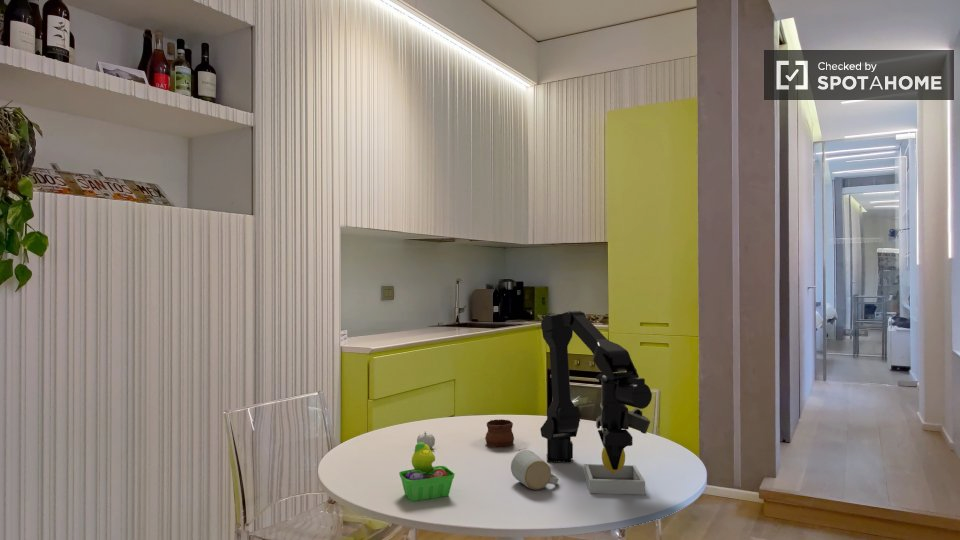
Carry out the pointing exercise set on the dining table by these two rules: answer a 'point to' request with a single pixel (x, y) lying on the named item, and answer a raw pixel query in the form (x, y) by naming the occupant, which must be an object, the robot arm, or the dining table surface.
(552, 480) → the ceramic mug
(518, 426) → the dining table surface
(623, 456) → the lemon
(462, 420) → the dining table surface
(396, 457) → the dining table surface
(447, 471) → the fruit basket
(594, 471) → the corral
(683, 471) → the dining table surface
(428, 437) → the garlic
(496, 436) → the ceramic pot
